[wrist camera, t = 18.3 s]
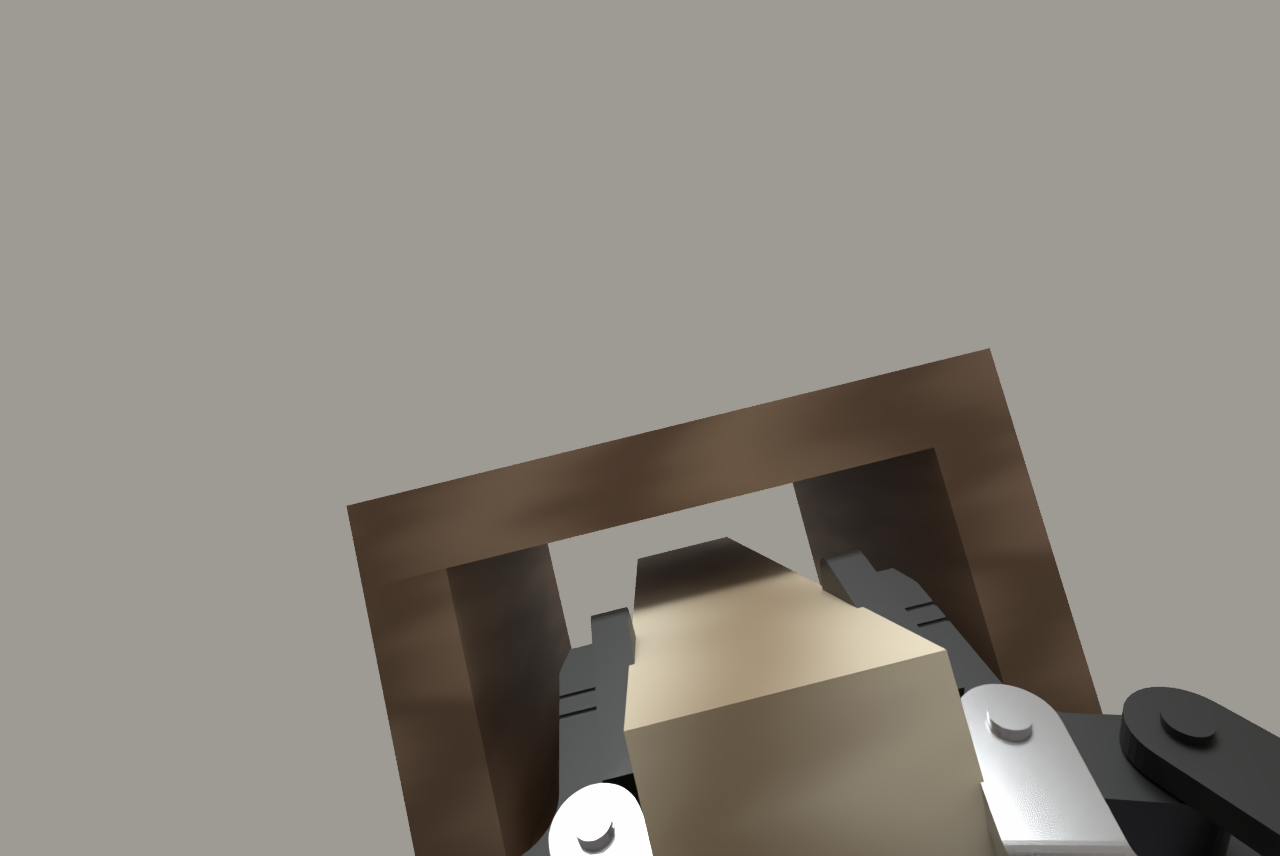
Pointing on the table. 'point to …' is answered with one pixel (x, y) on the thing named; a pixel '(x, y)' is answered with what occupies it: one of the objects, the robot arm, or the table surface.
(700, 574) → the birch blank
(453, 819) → the walnut rack
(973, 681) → the robot arm
